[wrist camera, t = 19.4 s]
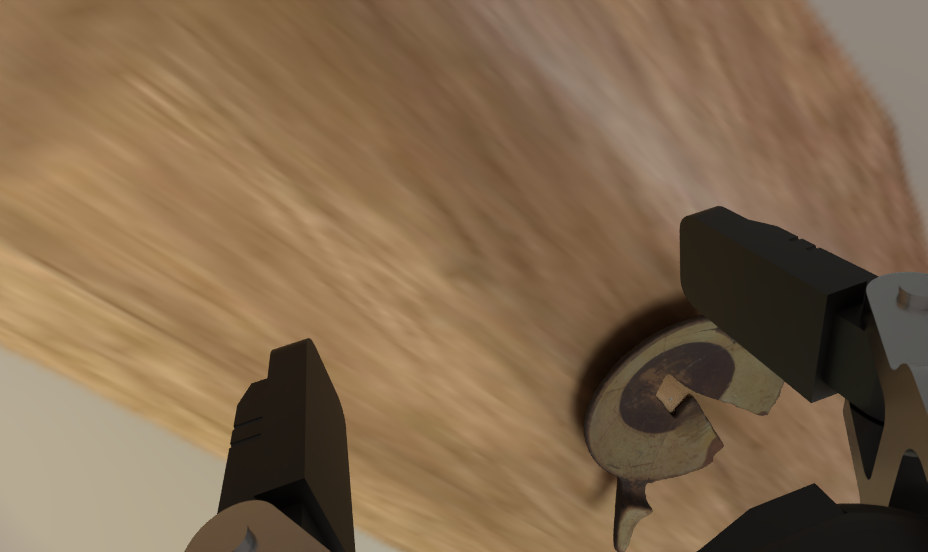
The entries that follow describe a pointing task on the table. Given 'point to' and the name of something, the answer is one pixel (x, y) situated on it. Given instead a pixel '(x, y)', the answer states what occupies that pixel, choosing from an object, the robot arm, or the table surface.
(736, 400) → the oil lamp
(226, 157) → the table surface
